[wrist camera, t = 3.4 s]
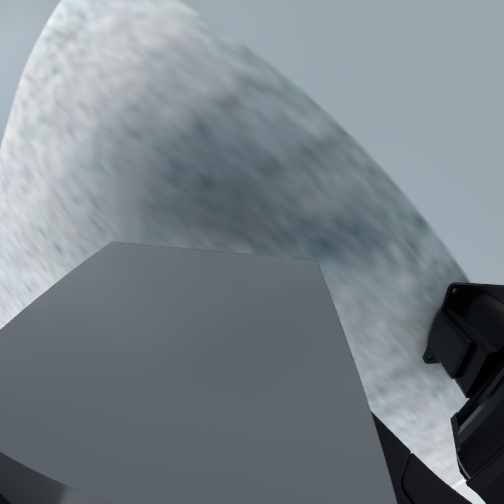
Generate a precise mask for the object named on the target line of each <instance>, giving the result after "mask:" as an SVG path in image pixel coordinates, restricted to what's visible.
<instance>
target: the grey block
mask: <svg viewBox="0 0 504 504" xmlns="http://www.w3.org/2000/svg"><path fill="white" fill-rule="evenodd" d="M0 494H1V495H2V496H3V497H4V498H5V499H6V500H7V501H8V502H9V503H10V504H397V501H396V497H395V493H394V490H393V486H392V482H391V478H390V475H389V471H388V468H387V464H386V461H385V457H384V454H383V450H382V447H381V443H380V440H379V437H378V433H377V430H376V427H375V423H374V420H373V417H372V414H371V411H370V407H369V404H368V401H367V398H366V395H365V392H364V389H363V386H362V383H361V380H360V377H359V374H358V371H357V368H356V365H355V362H354V359H353V356H352V353H351V351H350V348H349V345H348V342H347V339H346V336H345V334H344V331H343V328H342V325H341V323H340V320H339V317H338V314H337V312H336V309H335V306H334V304H333V301H332V298H331V296H330V293H329V290H328V288H327V285H326V282H325V280H324V277H323V275H322V272H321V270H320V267H319V264H318V262H317V260H306V259H295V258H284V257H273V256H262V255H251V254H240V253H229V252H218V251H207V250H196V249H185V248H175V247H164V246H153V245H142V244H132V243H121V242H110V243H109V244H108V245H106V246H105V247H103V248H102V249H101V250H99V251H98V252H97V253H95V254H94V255H93V256H91V257H90V258H88V259H87V260H86V261H84V262H83V263H82V264H80V265H79V266H78V267H76V268H75V269H74V270H73V271H71V272H70V273H69V274H67V275H66V276H65V277H63V278H62V279H61V280H60V281H58V282H57V283H56V284H54V285H53V286H52V287H51V288H49V289H48V290H47V291H46V292H44V293H43V294H42V295H41V296H40V297H38V298H37V299H36V300H35V301H33V302H32V303H31V304H30V305H29V306H27V307H26V308H25V309H24V310H23V311H21V312H20V313H19V314H18V315H17V316H16V317H14V318H13V319H12V320H11V321H10V322H9V323H8V324H6V325H5V326H4V327H3V328H2V329H1V330H0Z"/></svg>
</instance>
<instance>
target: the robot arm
mask: <svg viewBox="0 0 504 504" xmlns="http://www.w3.org/2000/svg"><path fill="white" fill-rule="evenodd" d="M454 288H456V290H455V292H453V293H452V291H453V289H454ZM429 356H431V357H430V358H429V359H427V358H428V357H429ZM423 361H424V362H425V363H426V364H434V363H441V364H442V366H443V367H444V369H445V370H446V372H447V374H448V375H449V377H450V378H451V379H455V381H456V383H457V384H458V386H459V387H460V389H461V390H462V392H463V394H464V395H465V397H466V398H470V399H469V400H468V401H467V402H466V403H465V405H464V406H463V407H462V408H461V409H460V410H459V412H456V413H455V414H454V415H453V417H452V418H451V425H452V430H453V436H454V442H455V448H456V455H457V462H458V466H459V470H460V473H461V474H462V475H463V477H464V478H465V479H466V484H467V486H468V487H470V488H471V489H472V490H473V491H475V492H476V493H477V494H478V495H479V496H480V497H481V498H482V499H483V501H484V502H485V503H486V504H504V285H495V284H479V283H478V284H477V283H456V282H455V283H452V284H450V285H449V287H448V289H447V292H446V295H445V299H444V302H443V305H442V308H441V311H440V312H439V314H438V316H437V319H436V322H435V325H434V327H433V330H432V333H431V335H430V338H429V341H428V346H427V348H426V351H425V353H424V356H423ZM370 411H371V410H370ZM371 414H372V417H373V420H374V423H375V427H376V430H377V433H378V437H379V440H380V443H381V447H382V450H383V454H384V457H385V461H386V464H387V468H388V471H389V475H390V478H391V482H392V486H393V490H394V493H395V497H396V501H397V504H472V503H471V502H470V501H468V500H467V499H465V498H464V497H463V496H462V495H460V494H459V493H457V492H456V491H455V490H454V489H452V488H451V487H450V486H449V485H447V484H446V483H445V482H444V481H442V480H441V479H440V478H439V477H438V476H437V475H436V474H434V473H433V472H432V471H431V470H430V469H429V468H428V467H427V466H426V465H425V464H424V463H423V462H422V461H421V460H420V459H419V458H417V457H416V456H415V455H414V454H413V453H411V451H410V450H409V449H408V448H407V447H406V446H405V445H404V444H403V443H402V442H401V441H400V440H399V439H398V438H397V437H396V436H395V435H394V434H393V433H392V432H391V431H390V430H389V429H388V428H387V427H386V426H385V425H384V424H383V423H382V422H381V421H380V420H379V419H378V418H377V417H376V416H375V415H374V414H373V412H372V411H371ZM410 453H411V454H410ZM0 504H10V503H9V502H8V501H7V500H6V499H5V498H4V497H3V496H2V495H1V494H0Z"/></svg>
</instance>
